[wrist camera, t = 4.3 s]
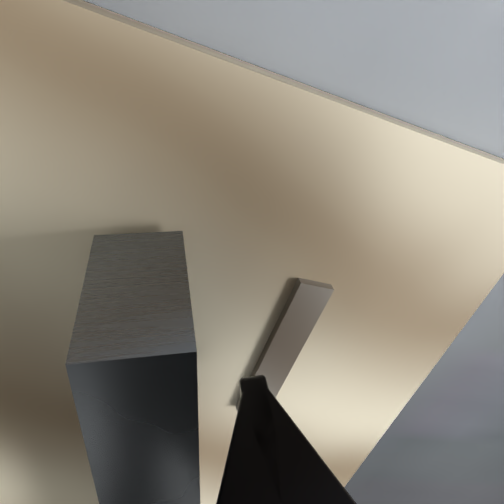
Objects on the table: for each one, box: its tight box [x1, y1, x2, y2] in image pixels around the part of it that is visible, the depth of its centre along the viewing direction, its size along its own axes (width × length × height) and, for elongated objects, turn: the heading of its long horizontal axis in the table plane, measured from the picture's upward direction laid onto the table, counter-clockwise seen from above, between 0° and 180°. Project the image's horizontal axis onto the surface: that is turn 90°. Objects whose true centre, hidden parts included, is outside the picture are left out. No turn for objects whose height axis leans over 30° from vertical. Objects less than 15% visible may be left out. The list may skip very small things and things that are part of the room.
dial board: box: [0, 0, 504, 504], centre depth 11 cm, size 18×17×1 cm
